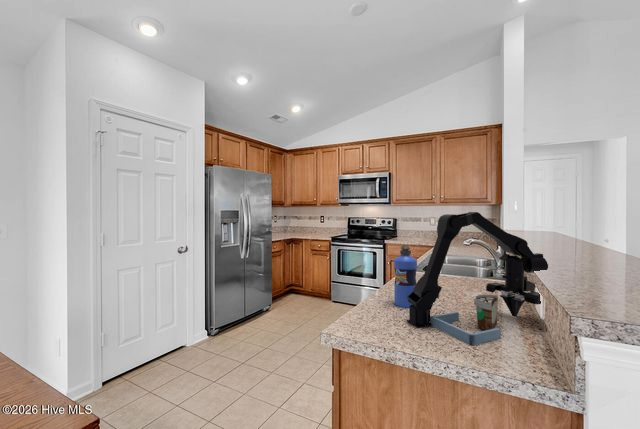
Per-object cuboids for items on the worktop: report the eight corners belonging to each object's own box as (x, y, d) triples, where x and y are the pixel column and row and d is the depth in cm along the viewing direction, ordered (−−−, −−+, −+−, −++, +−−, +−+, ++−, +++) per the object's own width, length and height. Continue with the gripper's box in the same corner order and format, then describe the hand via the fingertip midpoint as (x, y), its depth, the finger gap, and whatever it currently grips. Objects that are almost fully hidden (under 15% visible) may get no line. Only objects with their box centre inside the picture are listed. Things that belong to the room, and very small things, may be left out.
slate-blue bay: (472, 345, 87) (472, 335, 87) (430, 325, 103) (430, 316, 103) (500, 338, 91) (500, 328, 91) (456, 319, 107) (456, 311, 107)
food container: (478, 319, 107) (478, 292, 107) (497, 323, 103) (497, 295, 103) (469, 330, 98) (469, 300, 98) (491, 335, 94) (491, 303, 94)
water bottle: (409, 309, 118) (408, 247, 118) (389, 304, 126) (389, 245, 125) (421, 304, 125) (421, 245, 124) (402, 299, 132) (402, 243, 131)
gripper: (557, 276, 101) (557, 322, 101) (505, 266, 118) (505, 305, 118) (536, 279, 96) (536, 327, 97) (485, 268, 114) (485, 309, 114)
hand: (514, 316), depth 106 cm, fingers closed
